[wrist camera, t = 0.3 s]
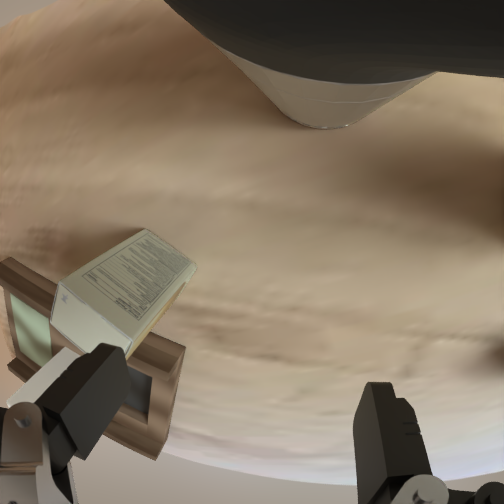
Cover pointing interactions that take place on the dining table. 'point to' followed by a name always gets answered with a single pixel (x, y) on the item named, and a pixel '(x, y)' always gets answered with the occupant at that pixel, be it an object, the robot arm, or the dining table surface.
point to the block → (43, 378)
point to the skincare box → (120, 293)
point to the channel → (52, 342)
